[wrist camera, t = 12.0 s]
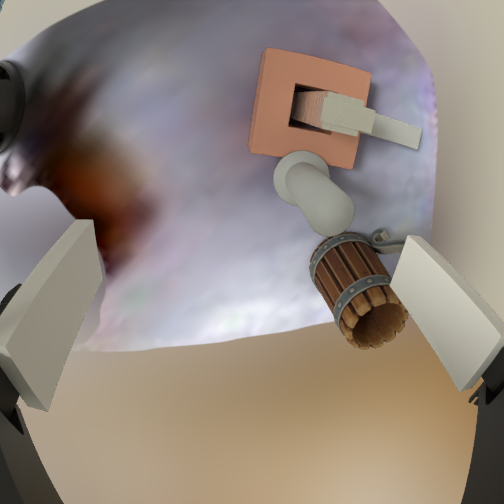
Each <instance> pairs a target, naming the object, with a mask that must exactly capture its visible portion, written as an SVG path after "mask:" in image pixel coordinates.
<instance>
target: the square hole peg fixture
mask: <svg viewBox="0 0 504 504" xmlns="http://www.w3.org/2000/svg"><path fill="white" fill-rule="evenodd" d="M371 74H372V73H369V72H366V71H363V70H360V69H357V68H354V67H350V66H347V65H344V64H340V63H336V62H333V61H329V60H325V59H321V58H317V57H313V56H309V55H304V54H300V53H295V52H290V51H285V50H280V49H274V48H268V47H267V48H266V50H265V51H264V52H263V53H262V57H261V63H260V69H259V76H258V82H257V88H256V95H255V101H254V108H253V114H252V121H251V128H250V135H249V141H248V147H249V150H250V152H251V153H255V154H263V155H270V156H277V157H281V158H280V159H279V161H278V163H277V165H276V167H275V169H274V173H273V183H274V187H275V189H276V191H277V193H278V195H279V196H280V197H281V198H282V199H283V200H284V201H285V202H287V203H289V204H291V205H294V206H299V208H300V210H301V211H302V213H303V214H304V216H305V218H306V219H307V221H308V223H309V224H310V226H311V228H312V229H313V230H314V231H315V232H316V233H318V234H320V235H322V236H335V235H338V234H340V233H342V232H344V231H345V230H346V229H347V228H348V227H349V226H350V224H351V223H352V221H353V218H354V214H355V208H354V204H353V201H352V200H351V198H350V197H349V196H348V195H347V194H346V193H345V192H344V191H342V190H341V189H340V188H339V187H338V186H337V185H336V184H335V183H333V182H332V181H331V180H330V173H329V169H328V166H327V165H331V166H337V167H342V168H347V169H353V165H354V161H355V156H356V152H357V147H358V143H359V138H360V133H363V134H367V135H371V136H375V137H378V138H382V139H385V140H388V141H392V142H395V143H398V144H402V145H405V146H408V147H411V148H414V149H417V150H418V145H419V141H420V137H421V132H422V129H421V128H418V127H415V126H413V125H410V124H407V123H404V122H402V121H399V120H396V119H393V118H390V117H387V116H384V115H380V114H377V113H375V117H374V122H373V127H372V132H371V134H370V133H366V132H363V131H358V136H357V137H356V136H352V135H348V134H343V133H339V132H335V131H330V130H325V129H321V128H319V130H317V129H312V128H306V127H301V126H296V125H290V124H288V123H289V117H290V111H291V106H292V100H293V94H294V88H295V87H300V88H305V89H310V90H314V91H330V92H334V93H338V94H342V95H345V96H349V97H353V98H356V99H360V100H363V101H364V106H363V107H366V103H367V97H368V92H369V86H370V80H371Z"/></svg>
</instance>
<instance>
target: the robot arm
mask: <svg viewBox="0 0 504 504" xmlns="http://www.w3.org/2000/svg"><path fill="white" fill-rule="evenodd" d="M4 1H5V0H0V12H1V10H2V5H3V3H4ZM24 102H25V94H24V85H23V81H22V78H21V75H20V73H19V71H18V70H17V68H16V67H15V66H14V65H13V64H11V63H9V62H7V61H0V152H1V151H3V150H4V149H5V148H6V147H7V146H8V145H9V144H10V143H11V142H12V140H13V139H14V137H15V135H16V133H17V131H18V129H19V126H20V123H21V120H22V116H23V111H24ZM102 280H103V278H102V273H101V268H100V262H99V257H98V251H97V245H96V238H95V232H94V224H93V220H76V221H75V222H74V223H73V224H72V225H71V226H70V227H69V228H68V229H67V230H66V232H65V233H64V234H63V235H62V236H61V237H60V238H59V239H58V241H57V242H56V243H55V244H54V245H53V246H52V248H51V249H50V250H49V251H48V253H47V254H46V255H45V256H44V257H43V259H42V260H41V261H40V262H39V263H38V265H37V266H36V267H35V268H34V270H33V271H32V272H31V274H30V275H29V277H28V278H27V279H26V280H25V281H24V283H23V284H18V285H17V286H15V287H14V288H13V289H12V290H10V291H9V292H8V293H7V294H6V296H5V297H4V298H3V300H2V301H1V303H0V504H64V503H63V502H62V500H61V498H60V497H59V495H58V493H57V491H56V489H55V488H54V486H53V484H52V482H51V480H50V478H49V476H48V474H47V472H46V470H45V468H44V466H43V464H42V462H41V460H40V458H39V456H38V453H37V451H36V449H35V446H34V444H33V442H32V440H31V437H30V434H29V432H28V429H27V427H26V424H25V422H24V419H23V416H22V413H21V410H20V409H19V407H18V405H17V404H16V403H17V400H18V398H19V395H20V396H21V398H22V399H23V400H24V402H25V403H26V404H27V406H29V407H33V408H36V409H39V410H43V411H46V412H48V411H49V408H50V405H51V402H52V398H53V396H54V393H55V390H56V387H57V384H58V381H59V379H60V376H61V373H62V370H63V367H64V365H65V362H66V360H67V357H68V355H69V352H70V350H71V348H72V345H73V343H74V340H75V338H76V336H77V333H78V331H79V329H80V326H81V324H82V322H83V320H84V317H85V315H86V313H87V311H88V309H89V307H90V304H91V302H92V300H93V298H94V296H95V294H96V292H97V290H98V288H99V286H100V284H101V282H102ZM390 287H391V288H392V290H393V291H394V293H395V294H396V295H397V297H398V298H399V299H400V301H401V302H402V304H403V305H404V307H405V308H406V309H407V311H408V312H409V314H410V315H411V316H412V318H413V319H414V321H415V322H416V324H417V325H418V327H419V328H420V330H421V331H422V333H423V334H424V336H425V337H426V339H427V340H428V342H429V343H430V345H431V346H432V348H433V349H434V351H435V353H436V354H437V356H438V357H439V359H440V360H441V362H442V364H443V365H444V367H445V369H446V370H447V372H448V374H449V375H450V377H451V379H452V380H453V382H454V384H455V385H456V387H457V389H458V390H459V392H462V391H464V390H467V389H470V388H472V387H473V386H474V385H475V383H476V382H477V381H478V380H479V378H480V377H481V376H482V378H483V380H484V382H483V383H482V385H481V386H480V387H479V388H478V389H477V390H476V391H475V393H474V394H473V395H472V396H471V397H470V399H469V403H471V402H472V400H474V398H475V397H478V399H477V400H476V401H475V402H474V404H475V405H478V415H477V424H476V433H475V440H474V447H473V453H472V459H471V464H470V469H469V474H468V478H467V483H466V487H465V491H464V495H463V499H462V502H461V504H504V322H503V320H502V319H501V318H500V317H499V316H498V315H497V313H496V312H495V311H494V310H493V309H492V308H491V307H490V305H489V304H488V303H487V302H486V301H485V300H484V299H483V298H482V297H481V296H480V294H479V293H478V292H477V291H476V290H475V289H474V288H473V287H472V286H471V285H470V284H469V283H468V282H467V281H466V280H465V279H464V278H463V277H462V276H461V275H460V274H459V273H458V272H457V270H456V269H455V268H453V267H452V266H451V265H450V264H449V263H448V262H447V261H446V260H445V259H444V258H443V257H442V256H441V255H440V254H439V253H438V252H437V251H436V250H435V249H434V248H433V247H432V246H431V245H429V244H428V243H427V242H426V241H425V240H424V239H423V238H422V237H421V236H415V235H407V239H406V242H405V245H404V247H403V250H402V253H401V256H400V259H399V262H398V264H397V267H396V270H395V273H394V275H393V278H392V280H391V283H390Z"/></svg>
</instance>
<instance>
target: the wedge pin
mask: <svg viewBox="0 0 504 504" xmlns="http://www.w3.org/2000/svg"><path fill="white" fill-rule="evenodd" d="M363 106H364V101H363V100H360V99H356V98H353V97H349V96H345V95H342V94H338V93H334V92H330V91H315V92H295V93H294V94H293V100H292V106H291V111H290V118H293V119H296V120H299V121H302V122H304V123H307V124H310V125H313V126H316V127H318V128H321V129H325V130H330V131H335V132H339V133H343V134H348V135H352V136H356V137H357V136H358V131H363V132H366V133H370V134H371V132H372V127H373V122H374V117H375V112H376V110H373V109H369V108H366V107H363Z"/></svg>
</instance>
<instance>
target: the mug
mask: <svg viewBox="0 0 504 504" xmlns="http://www.w3.org/2000/svg"><path fill="white" fill-rule="evenodd" d="M388 238H389V236H388V234H387V233H386V231H385V230H383V229H378V230H376V231H374V232H373V233H372V234H371V235H370V237H369V241H368V240H366V239H365V238H364V237H361V236H360V235H359V234H356V233H352V232H348V233H345V232H342V233H340V234H338V235H335V236H331V237H329V238H327V239H325V240H324V241H323V242H322V243H321V244H320V245H319V246H318V248H317V249H316V250H315V251H314V253H313V255H312V257H311V260H310V262H311V264H310V266H309V267H310V275H311V278H312V281H313V283H314V285H315V287H316V288H317V290H318V291H319V292H320V293H321V294H322V296H323V298H324V300H325V301H326V303H327V305H328V307H329V308H330V310H331V312H332V314H333V316H334V319H335V322H336V324H337V326H338V328H339V330H340V331H341V332H342V334H343V335H344V336H345V337H346V339H347V341H348V342H349V343H350V344H351V345H352V346H354V347H358V348H360V349H362V350H367V349H369V348H370V346H371V347H372V348H378V347H381V346H382V345H383V341H385V342H390V341H391V340H393V339H394V338H395V337H396V332H398V333H399V332H401V331H402V330H403V328H404V327H405V321H406V320H407V319H408V311H407V309H406V308H405V307H404V305H403V304H402V302H401V301H400V299H399V298H398V297H397V295H396V294H395V293H394V291H393V290H392V288H391V287H390V283H391V280H392V278H391V277H390V275H389V274H388V272H387V270H386V269H385V267H384V266H383V264H382V263H381V261H380V259H379V258H378V255H377V253H379V254H392V253H401V252H402V250H403V247H404V245H405V242H406V240H395V241H389V242H380V241H382V240H384V241H386V240H387V239H388ZM376 252H377V253H376ZM395 270H396V269H395ZM394 273H395V271H394ZM393 275H394V274H393Z"/></svg>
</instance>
